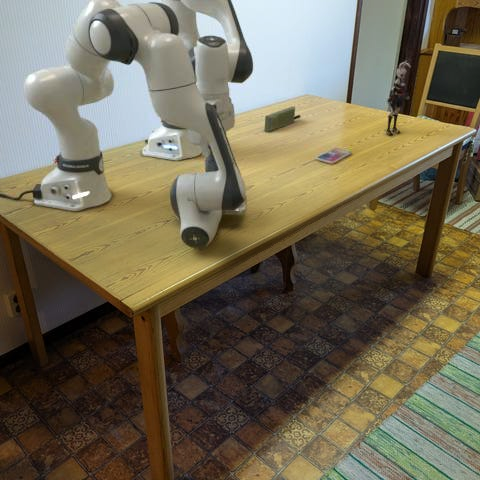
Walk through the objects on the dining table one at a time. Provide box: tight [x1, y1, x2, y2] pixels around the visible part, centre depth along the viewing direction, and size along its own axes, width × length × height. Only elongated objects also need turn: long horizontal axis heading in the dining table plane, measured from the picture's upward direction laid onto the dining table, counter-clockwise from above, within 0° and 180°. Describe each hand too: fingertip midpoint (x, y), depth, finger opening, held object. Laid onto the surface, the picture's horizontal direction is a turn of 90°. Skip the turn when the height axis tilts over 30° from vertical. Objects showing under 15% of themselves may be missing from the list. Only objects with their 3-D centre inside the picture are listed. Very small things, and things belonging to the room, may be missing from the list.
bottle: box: [204, 153, 219, 172], centre depth 146 cm, size 5×5×19 cm
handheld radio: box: [264, 105, 301, 133], centre depth 221 cm, size 7×3×25 cm
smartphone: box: [315, 147, 352, 165], centre depth 188 cm, size 7×1×15 cm
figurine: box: [385, 60, 412, 137], centre depth 207 cm, size 15×6×30 cm, turn 132°
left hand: (214, 189), depth 149 cm, fingers closed on bottle, 5 cm apart
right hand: (213, 151), depth 142 cm, fingers open, 6 cm apart
